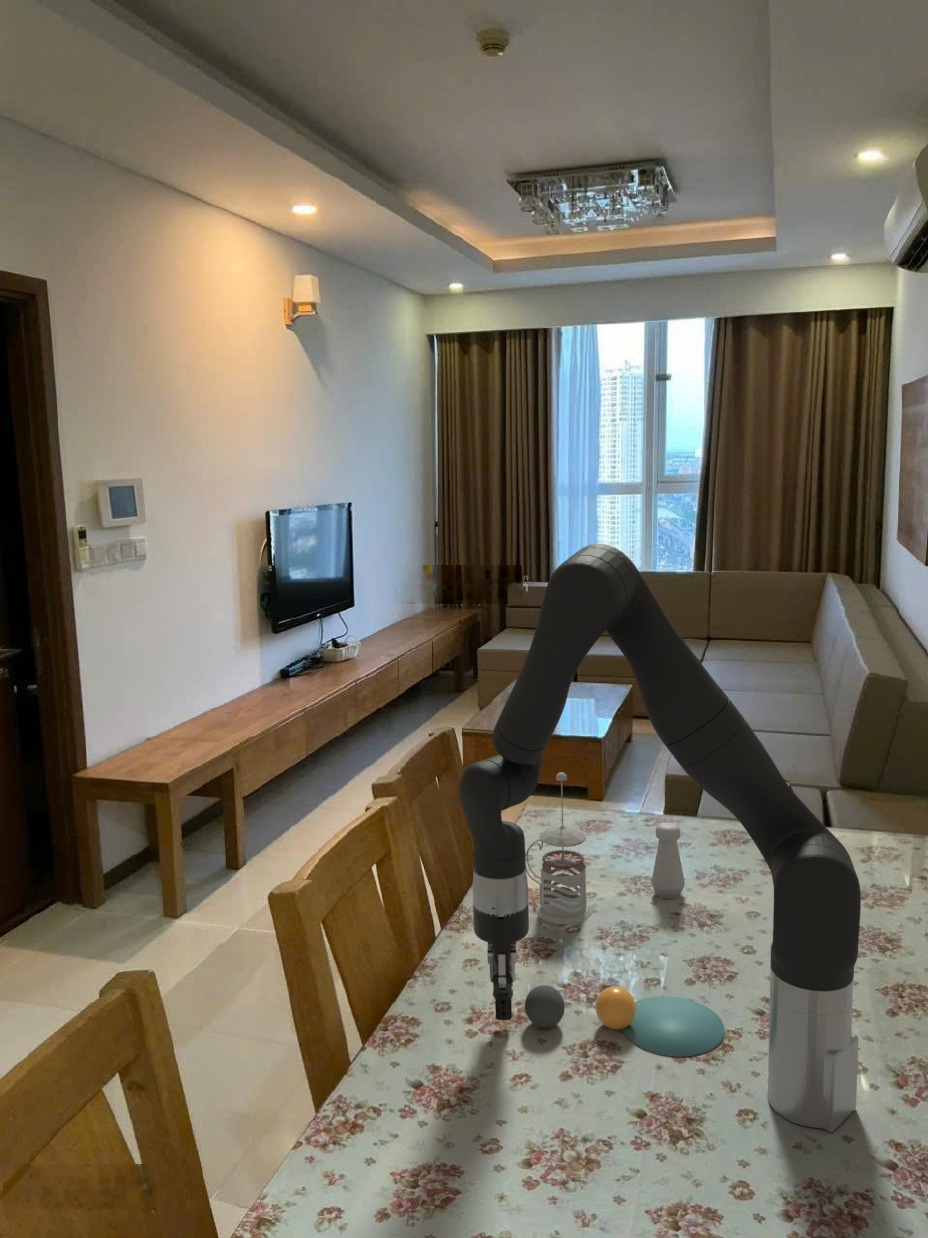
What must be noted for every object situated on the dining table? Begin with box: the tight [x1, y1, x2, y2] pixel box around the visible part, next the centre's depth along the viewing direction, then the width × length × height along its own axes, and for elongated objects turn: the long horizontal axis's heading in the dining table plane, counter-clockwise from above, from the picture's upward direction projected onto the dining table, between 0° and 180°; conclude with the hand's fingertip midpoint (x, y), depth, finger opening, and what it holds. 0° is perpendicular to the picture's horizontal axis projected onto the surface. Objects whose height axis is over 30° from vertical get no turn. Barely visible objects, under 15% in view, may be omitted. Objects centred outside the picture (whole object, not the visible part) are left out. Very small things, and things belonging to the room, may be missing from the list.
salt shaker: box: [651, 822, 686, 900], centre depth 171 cm, size 6×6×13 cm
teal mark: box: [621, 995, 725, 1058], centre depth 133 cm, size 14×14×1 cm
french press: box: [525, 771, 593, 925], centre depth 165 cm, size 10×12×25 cm
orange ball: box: [595, 985, 636, 1030], centre depth 133 cm, size 6×6×6 cm
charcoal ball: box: [524, 984, 566, 1029], centre depth 133 cm, size 6×6×6 cm
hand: (503, 1017), depth 133 cm, fingers closed
